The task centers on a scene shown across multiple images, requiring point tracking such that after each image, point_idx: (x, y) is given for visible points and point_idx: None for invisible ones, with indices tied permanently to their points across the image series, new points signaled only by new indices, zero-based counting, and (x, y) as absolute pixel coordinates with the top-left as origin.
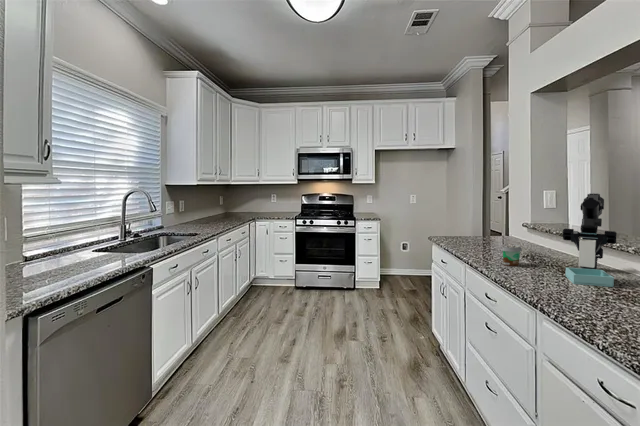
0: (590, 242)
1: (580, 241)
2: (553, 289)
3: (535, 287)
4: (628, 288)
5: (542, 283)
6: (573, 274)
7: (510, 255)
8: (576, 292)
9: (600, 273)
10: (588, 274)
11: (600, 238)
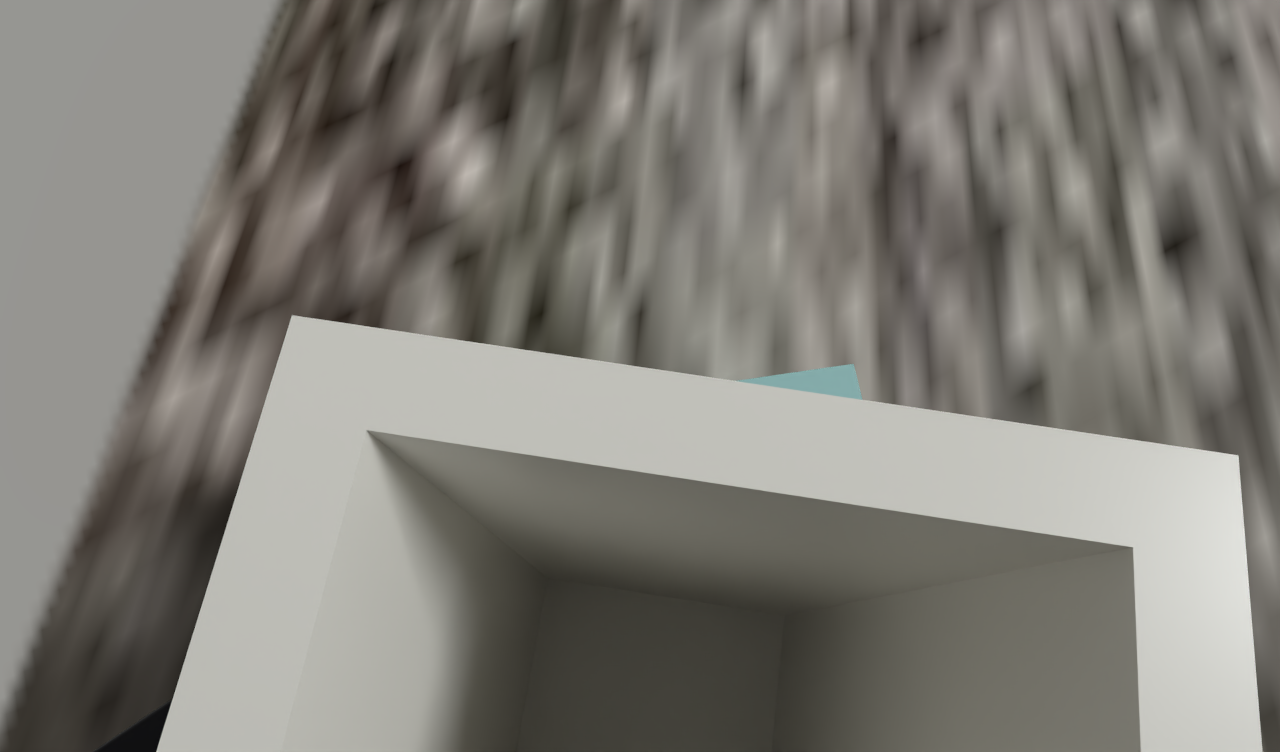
0: (572, 375)
1: (1154, 454)
2: (1014, 27)
3: (1197, 22)
4: (155, 496)
5: (1170, 238)
6: (858, 391)
7: None
8: (789, 17)
9: None
10: None
11: None
